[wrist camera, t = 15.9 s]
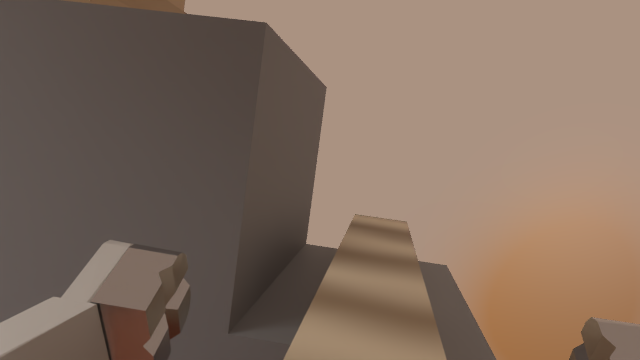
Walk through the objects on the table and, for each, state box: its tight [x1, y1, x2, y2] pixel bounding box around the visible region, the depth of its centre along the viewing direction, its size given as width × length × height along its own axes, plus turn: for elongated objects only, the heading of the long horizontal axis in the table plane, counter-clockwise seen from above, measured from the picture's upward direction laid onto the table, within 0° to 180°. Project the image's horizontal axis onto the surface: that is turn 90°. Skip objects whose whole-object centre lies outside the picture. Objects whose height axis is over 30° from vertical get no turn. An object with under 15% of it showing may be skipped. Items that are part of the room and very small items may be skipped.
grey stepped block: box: [0, 0, 496, 360], centre depth 25 cm, size 16×18×30 cm
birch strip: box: [283, 214, 447, 360], centre depth 20 cm, size 26×3×2 cm, turn 173°
